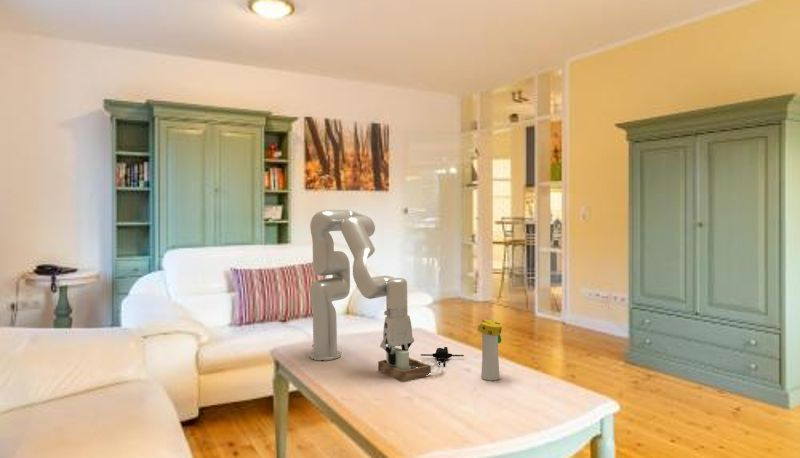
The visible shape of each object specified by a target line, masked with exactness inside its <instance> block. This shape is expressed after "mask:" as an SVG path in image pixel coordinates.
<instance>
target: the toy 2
mask: <svg viewBox="0 0 800 458" xmlns="http://www.w3.org/2000/svg"><path fill="white" fill-rule="evenodd" d="M502 329H503V324H502V323H501V322H498V321H495V320H491V319H485V318H482V320H481V323H479V324H478V325H477V331H478V332H479V333H481V337H482V338H481V339H482V340H481V342H482V343H481V344H482V345H481V350H482V353H481V360H482V361H481V379H483V380H485V381H498V380H499V379H500V363H499V361H500V360H499V344H500V343H502V337H501V335H502V331H503V330H502Z"/></svg>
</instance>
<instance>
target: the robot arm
mask: <svg viewBox="0 0 800 458" xmlns="http://www.w3.org/2000/svg"><path fill="white" fill-rule="evenodd" d="M309 228H310V235H311V241H312V268H313V272H314V273H315V275H317V276H319V277H322V276H323V277H326V276H332V277H328V278H327V277H326V278H322V279H317V280H315V281H313V282H312V284H311V285H310V287H309V297H310V301H311V308H312V337H313V338H312V342H313V343H312V348H313V351H312V352H310V353H309V358H310V359H311V360H313V359H314V361H321V360H324V361H331V360H337V359H339V358H340V357H341V356H342V352H341V351H339V350H338V329H337V328H338V325H337V324H338V323H337V320H338V319H337V312H336V308H335V305H333V302H335V301H340V300H344V299H345V298H347V297H348V296H349V295H350V292H351V291H350V290H351V265H350V260H349V256H348V255H347V254H346V253H345V252H343V251H342V250H341V251H340V250H335V249H334V248H335V247H334V246H335V242H334V238H333V237H332V235H331V234H330V232H341V233H342V236H343V238H344V239H345V242H346V243H347V246H348V248H349V250H350V252H351V254H352V256H353V262H352V277H353V280H354V282H355V283H354V284H355V285H356V287H357V289H358V291H359V292H360V294H361V296H363V297H364V298H365V299H368V300H372V299H377V298H383V297H386V299H385V300H386V303H385V304H386V309H385V311H384V312H383V314H384V316H385V317H384V322H383V334H382V335H383V339H382V341H381V343H380V346H379V347H380V348H381V349H383V350H384V351H385V352H387V353H388V362H389V364H391V365H395V354H394V348H395V347H398V346H400V349H402V350H405V351H407V352H409V350H410V347H411V346H412V345H413V343H414V342H415V339H414V337H413V326H412V320H411V317H410V315H408V312H409V311H408V281H407V280H406V279H405V278H402V277H393V276H390V275H380V276H374V277H371V275H370V273H369V271H368V268H367V260H368V259H369V258H370V257H372V256H373V254H374V253H375V250H376V248H375V247H374V244H373V242H372V240H371V237H372V236H374V233H375V231H376V225H375V223H374V221H373V219H372V218H371V217H369V216H368V215H365V214H361V213H359V212H357V211H353V210H349V209H326V210H320V211H317V212H316V213H315V214H314V215H313V216H312V218H311V220H310V226H309Z"/></svg>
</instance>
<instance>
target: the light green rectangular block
mask: <svg viewBox="0 0 800 458" xmlns="http://www.w3.org/2000/svg"><path fill="white" fill-rule="evenodd" d="M385 352H386V351H385ZM394 354H395V365H391V364H389V362H388V353H387V352H386V354H385V357H386V359H385V360H386V363H387V364H389V365H391V366H394V367H396V368H398V369H401V370H403V371H406V370H409V358H410V352H409V351H405V350H402V348H398V347H397V346H395V348H394Z"/></svg>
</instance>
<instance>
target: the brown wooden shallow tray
mask: <svg viewBox="0 0 800 458" xmlns="http://www.w3.org/2000/svg"><path fill="white" fill-rule="evenodd" d="M377 363H378V364H377V366H378V368H377V369H378V372H380V373H382V374H385V375H387V376H389V377H391V378H393V379H396V380H398V381H400V382H402V383H406V382H410V381H414V380H418V379H422V378H425V377H424V376H426V375H428V374H429V373H431V374H432V368H431V367H432V366H431V365H430V364H428V363H424V362H423V361H419V360H417V359H414V358H411V357H409V370H406V371H403V370H401V369H398V368H396V367H394V366H391V365H389V364H387V363H386V359H383V360H378V361H377ZM416 367H418V368H416ZM426 377H427V376H426Z"/></svg>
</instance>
